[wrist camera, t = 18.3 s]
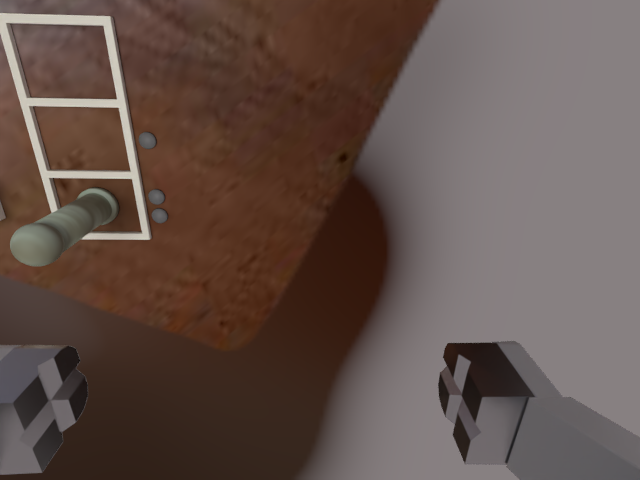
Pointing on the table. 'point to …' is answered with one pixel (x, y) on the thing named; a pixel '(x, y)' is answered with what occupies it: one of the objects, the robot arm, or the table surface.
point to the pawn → (63, 227)
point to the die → (2, 213)
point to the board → (146, 139)
